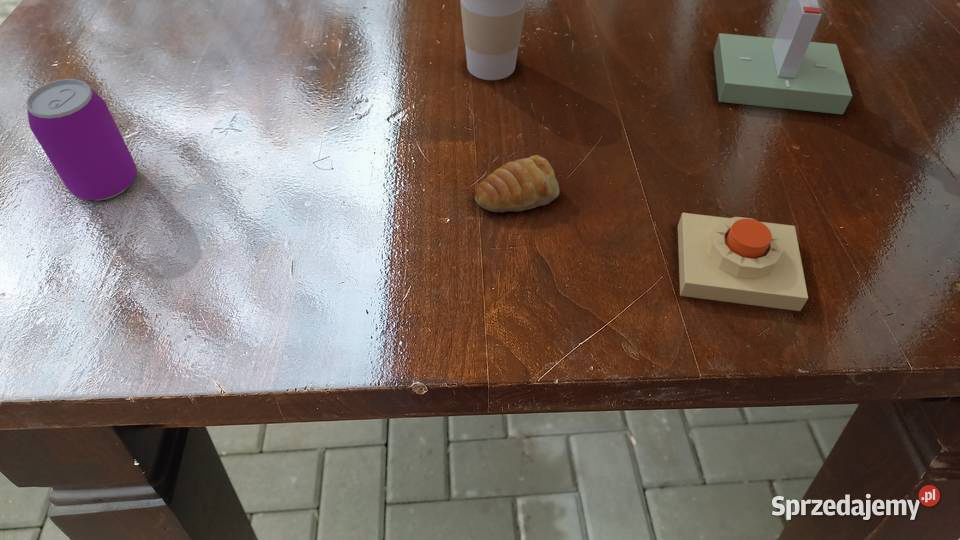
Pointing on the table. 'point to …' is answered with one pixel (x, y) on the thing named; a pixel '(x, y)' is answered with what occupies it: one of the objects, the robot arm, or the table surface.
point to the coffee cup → (492, 36)
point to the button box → (739, 265)
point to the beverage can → (80, 139)
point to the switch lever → (795, 36)
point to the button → (749, 238)
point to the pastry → (518, 186)
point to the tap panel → (755, 81)
